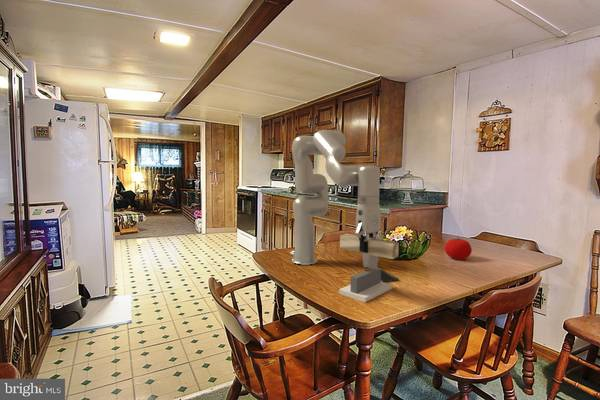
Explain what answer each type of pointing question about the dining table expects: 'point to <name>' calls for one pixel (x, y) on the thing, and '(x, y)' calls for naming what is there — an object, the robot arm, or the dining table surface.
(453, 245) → the tomato
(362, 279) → the ridge stand
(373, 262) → the coffee cup
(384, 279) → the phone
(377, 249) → the beam
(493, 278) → the dining table surface
